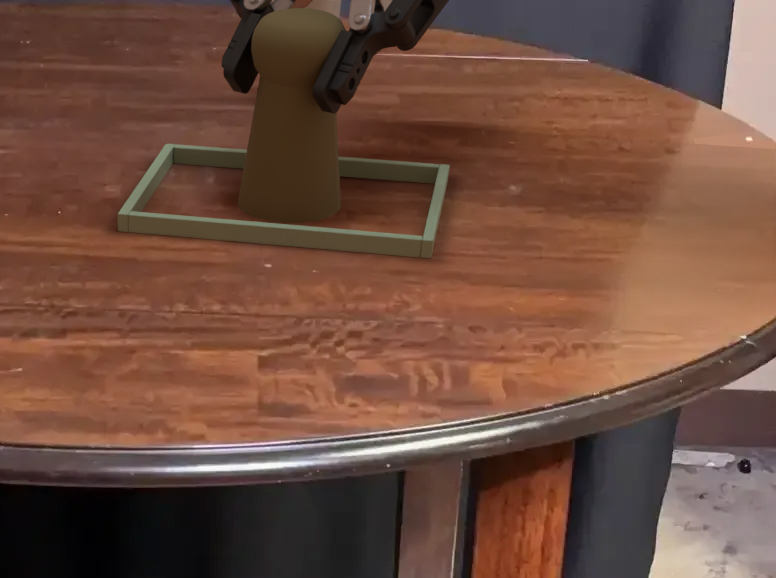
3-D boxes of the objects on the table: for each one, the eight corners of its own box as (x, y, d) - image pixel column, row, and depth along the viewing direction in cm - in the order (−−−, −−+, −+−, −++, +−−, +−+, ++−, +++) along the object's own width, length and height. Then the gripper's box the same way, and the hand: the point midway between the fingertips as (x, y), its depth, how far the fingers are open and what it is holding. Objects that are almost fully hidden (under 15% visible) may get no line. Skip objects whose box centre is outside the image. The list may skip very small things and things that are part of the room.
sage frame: (445, 199, 90) (449, 164, 89) (428, 278, 81) (433, 240, 80) (165, 176, 94) (165, 143, 93) (117, 249, 84) (117, 213, 83)
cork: (214, 212, 87) (221, 12, 81) (282, 186, 91) (294, -8, 84) (295, 240, 84) (309, 34, 77) (362, 211, 87) (381, 11, 81)
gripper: (550, -121, 82) (412, 158, 81) (325, -149, 89) (198, 107, 89) (520, -223, 75) (370, 80, 75) (280, -244, 83) (143, 32, 82)
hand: (277, 93), depth 82 cm, fingers closed on cork, 5 cm apart
